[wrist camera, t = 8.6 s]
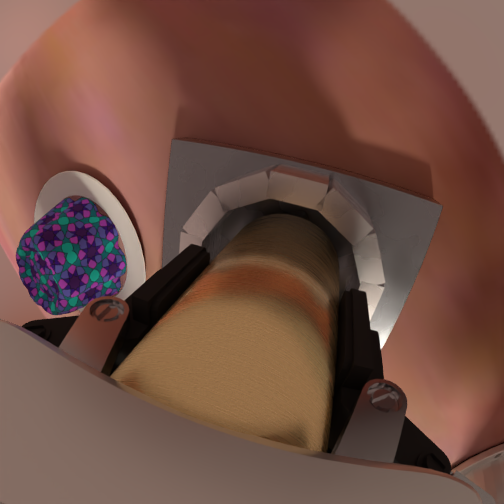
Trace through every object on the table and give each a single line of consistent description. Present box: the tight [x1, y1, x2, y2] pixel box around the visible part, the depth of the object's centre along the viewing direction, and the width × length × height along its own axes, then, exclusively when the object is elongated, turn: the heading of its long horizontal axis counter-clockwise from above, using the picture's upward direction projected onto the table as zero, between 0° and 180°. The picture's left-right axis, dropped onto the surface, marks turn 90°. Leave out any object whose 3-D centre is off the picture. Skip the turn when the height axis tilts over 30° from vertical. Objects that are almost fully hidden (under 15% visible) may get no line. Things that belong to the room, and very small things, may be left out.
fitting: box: [110, 214, 339, 453], centre depth 9 cm, size 5×5×10 cm
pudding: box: [16, 171, 146, 315], centre depth 18 cm, size 12×12×5 cm
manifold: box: [162, 138, 443, 349], centre depth 16 cm, size 13×19×4 cm
